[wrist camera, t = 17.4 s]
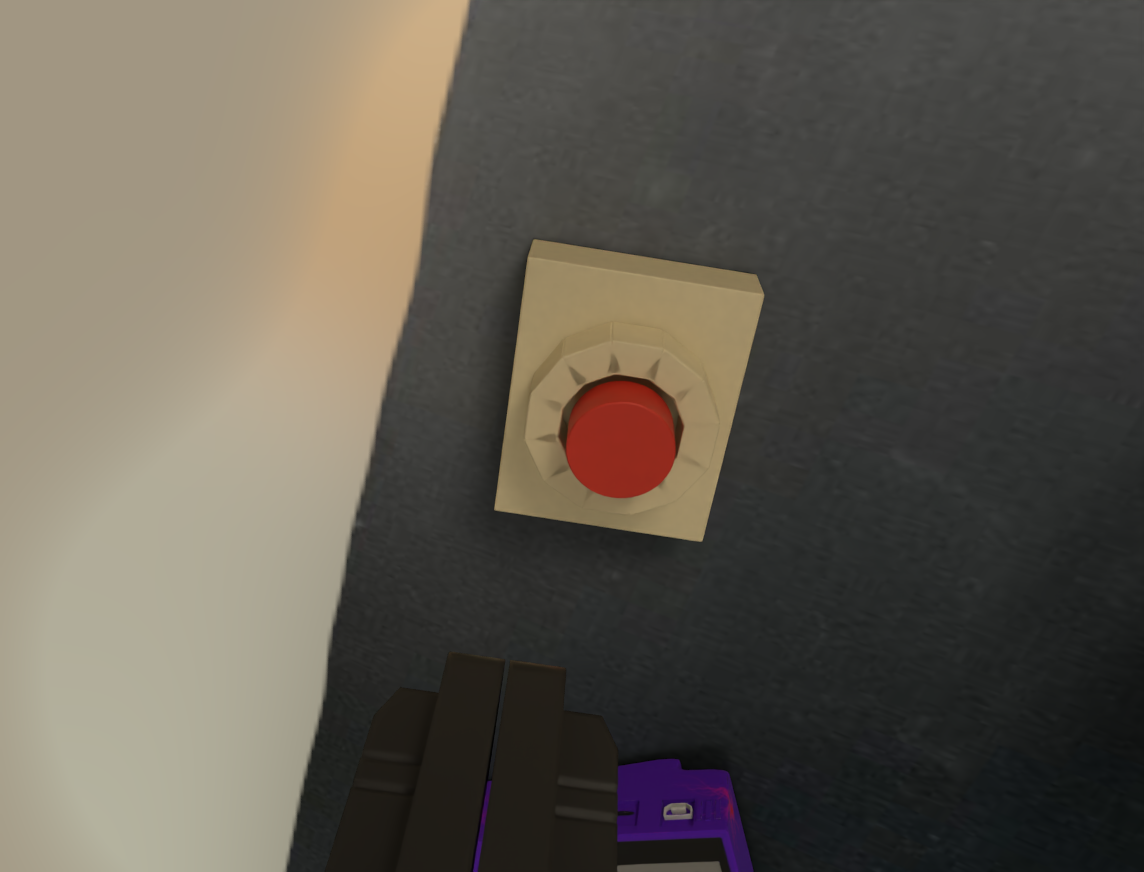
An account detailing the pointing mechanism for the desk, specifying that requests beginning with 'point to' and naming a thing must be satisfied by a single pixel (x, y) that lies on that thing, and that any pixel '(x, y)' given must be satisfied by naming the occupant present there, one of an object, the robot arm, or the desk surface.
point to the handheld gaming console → (672, 820)
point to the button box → (624, 378)
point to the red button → (620, 439)
